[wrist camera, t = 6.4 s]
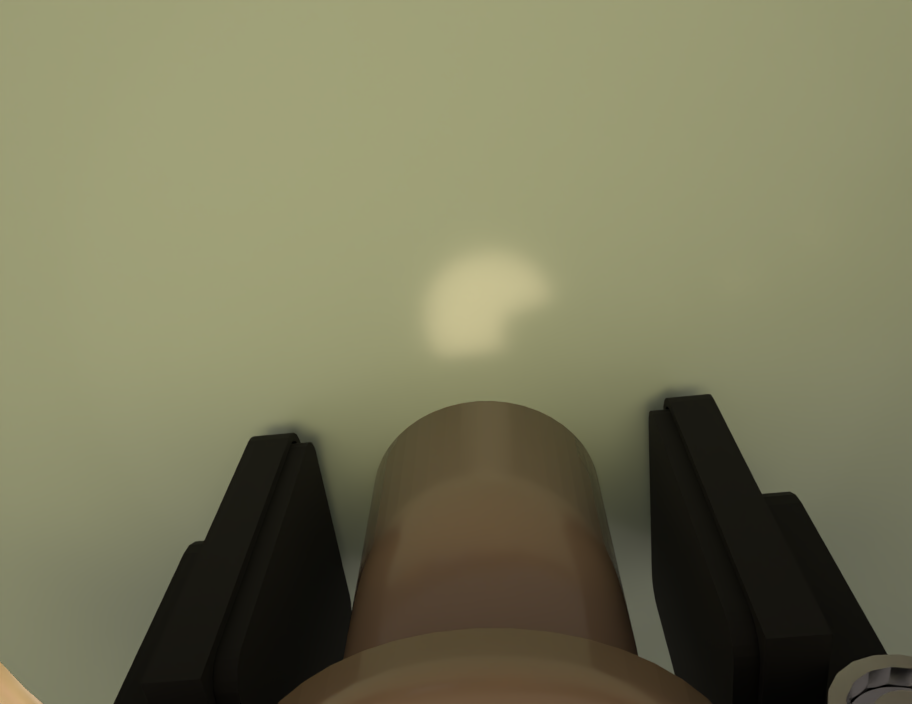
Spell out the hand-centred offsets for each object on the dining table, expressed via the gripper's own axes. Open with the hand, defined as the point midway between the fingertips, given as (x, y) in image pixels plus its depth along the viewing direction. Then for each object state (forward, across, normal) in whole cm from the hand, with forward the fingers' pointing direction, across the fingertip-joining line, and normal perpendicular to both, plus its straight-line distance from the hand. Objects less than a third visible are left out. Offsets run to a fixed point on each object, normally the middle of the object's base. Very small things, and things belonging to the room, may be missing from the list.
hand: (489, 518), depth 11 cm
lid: (+2, 0, 0) cm, 2 cm away
